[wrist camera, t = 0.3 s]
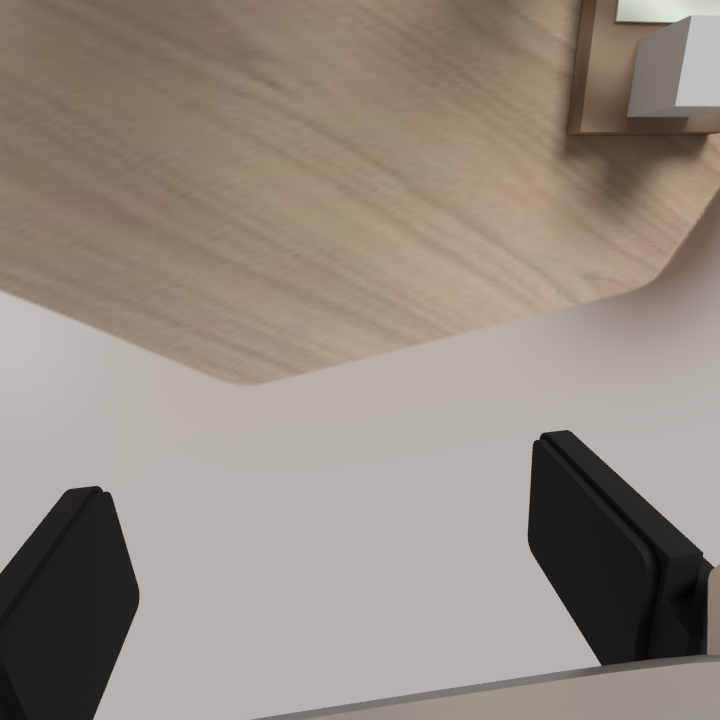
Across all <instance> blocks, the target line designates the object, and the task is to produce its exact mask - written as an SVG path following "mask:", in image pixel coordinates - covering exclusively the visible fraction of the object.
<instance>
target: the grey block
mask: <svg viewBox="0 0 720 720" xmlns="http://www.w3.org/2000/svg"><path fill="white" fill-rule="evenodd" d="M719 111H720V16H715V15H691V16H688V17H686V18H684V19H682V20H680V21H677V22H675V23H673V24H671V25H669V26H666V27H664V28H662V29H660V30H658V31H655V32H653V33H651V34H649V35H647V36H644V37H642V38H640V39H639V42H638V48H637V55H636V61H635V68H634V75H633V81H632V88H631V94H630V101H629V107H628V114H627V117H693V116H698V115H704V114H709V113H714V112H719Z"/></svg>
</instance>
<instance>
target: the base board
mask: <svg viewBox="0 0 720 720" xmlns="http://www.w3.org/2000/svg"><path fill="white" fill-rule="evenodd" d="M691 15H715V16H720V0H583V1H582V9H581V18H580V26H579V35H578V43H577V52H576V60H575V69H574V78H573V86H572V95H571V103H570V112H569V120H568V129H567V135H709V134H716V133H720V111H719V112H714V113H709V114H704V115H698V116H693V117H627V114H628V107H629V101H630V94H631V88H632V81H633V75H634V68H635V61H636V55H637V48H638V42H639V39H640V38H642V37H644V36H647V35H649V34H651V33H653V32H655V31H658V30H660V29H662V28H664V27H666V26H669V25H671V24H673V23H675V22H677V21H680V20H682V19H684V18H686V17H688V16H691Z"/></svg>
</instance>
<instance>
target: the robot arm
mask: <svg viewBox="0 0 720 720" xmlns="http://www.w3.org/2000/svg"><path fill="white" fill-rule="evenodd" d="M532 453H533V454H532V469H531V487H530V505H529V522H528V543H529V546H530V550H531V552H532V554H533V556H534V557H535V559H536V560H537V562H538V564H539V565H540V567H541V569H542V570H543V571H544V573H545V575H546V576H547V578H548V580H549V581H550V583H551V585H552V586H553V588H554V589H555V591H556V593H557V594H558V596H559V597H560V599H561V601H562V602H563V604H564V606H565V607H566V609H567V610H568V612H569V614H570V615H571V617H572V618H573V620H574V622H575V623H576V625H577V626H578V628H579V630H580V631H581V633H582V635H583V636H584V638H585V639H586V641H587V643H588V644H589V646H590V647H591V649H592V651H593V652H594V654H595V655H596V657H597V659H598V660H599V662H600V663H601V665H602V666H599V667H591V668H584V669H577V670H569V671H562V672H555V673H549V674H542V675H536V676H529V677H522V678H516V679H509V680H502V681H496V682H489V683H483V684H476V685H469V686H463V687H457V688H450V689H443V690H437V691H430V692H423V693H417V694H411V695H404V696H398V697H391V698H385V699H379V700H372V701H366V702H360V703H353V704H346V705H340V706H334V707H328V708H321V709H315V710H309V711H302V712H296V713H290V714H284V715H277V716H271V717H265V718H259V719H252V720H720V565H718V566H717V567H715V568H714V567H713V566H712V565H711V564H710V563H709V562H708V561H707V560H706V559H704V558H703V552H702V551H700V549H698V548H697V547H696V546H695V545H694V544H693V543H692V542H691V541H690V540H689V539H688V538H687V537H685V536H684V535H683V534H682V533H681V532H680V531H679V530H678V529H677V528H676V527H674V526H673V525H672V524H671V523H670V522H669V521H668V520H667V519H666V518H665V517H664V516H662V515H661V514H660V513H659V512H658V511H657V510H656V509H655V508H654V507H653V506H652V505H650V504H649V503H648V502H647V501H646V500H645V499H644V498H643V497H642V496H641V495H640V494H638V493H637V492H636V491H635V490H634V489H633V488H632V487H631V486H630V485H629V484H627V483H626V482H625V481H624V480H623V479H622V478H621V477H620V476H619V475H618V474H617V473H616V472H614V471H613V470H612V469H611V468H610V467H609V466H608V465H607V464H606V463H604V461H602V460H601V459H600V458H599V457H598V456H597V455H596V454H595V453H594V452H593V451H591V450H590V449H589V448H588V447H587V446H586V445H585V444H584V443H583V442H582V441H581V440H579V439H578V438H577V437H576V436H575V435H574V434H573V433H572V432H570V431H569V430H564V431H555V432H547V433H543V434H542V435H541V436H540V440H536V441H534V444H533V452H532ZM138 604H139V588H138V584H137V581H136V578H135V574H134V570H133V567H132V564H131V560H130V557H129V554H128V550H127V547H126V543H125V540H124V537H123V533H122V529H121V526H120V523H119V519H118V516H117V513H116V509H115V506H114V502H113V499H112V496H111V494H110V493H109V492H103V491H102V489H101V488H100V487H98V486H92V487H84V488H76V489H69V490H67V491H66V492H65V493H64V494H63V495H62V497H61V498H60V499H59V500H58V502H57V503H56V504H55V506H54V507H53V508H52V509H51V511H50V512H49V513H48V514H47V516H46V517H45V518H44V519H43V521H42V522H41V523H40V524H39V526H38V527H37V528H36V530H35V531H34V532H33V533H32V535H31V536H30V537H29V538H28V539H27V541H26V542H25V543H24V545H23V546H22V547H21V548H20V550H19V551H18V552H17V553H16V555H15V556H14V557H13V558H12V560H11V561H10V562H9V564H8V565H7V566H6V567H5V569H4V570H3V571H2V572H1V573H0V720H93V718H94V715H95V713H96V710H97V708H98V706H99V703H100V700H101V698H102V696H103V693H104V691H105V688H106V686H107V683H108V680H109V678H110V675H111V673H112V671H113V668H114V665H115V663H116V661H117V658H118V656H119V653H120V651H121V648H122V645H123V643H124V641H125V638H126V636H127V633H128V631H129V628H130V626H131V623H132V621H133V618H134V616H135V613H136V611H137V608H138Z"/></svg>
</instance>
